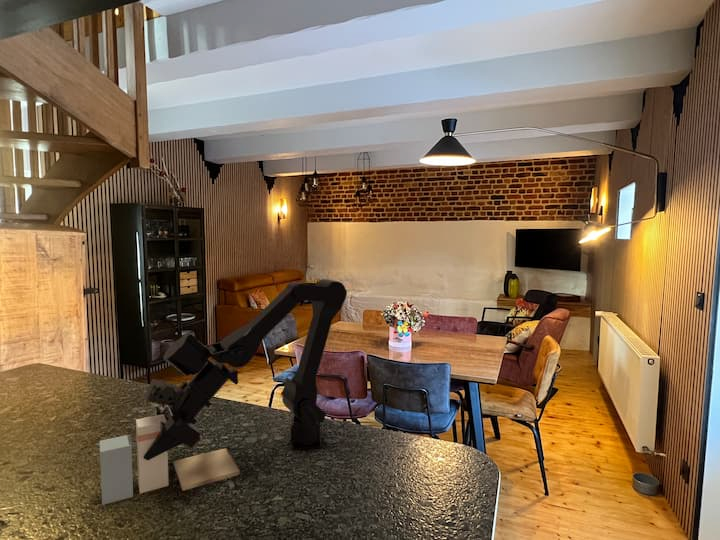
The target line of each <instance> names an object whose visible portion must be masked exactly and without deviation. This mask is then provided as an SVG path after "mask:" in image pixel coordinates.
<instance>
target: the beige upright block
mask: <svg viewBox="0 0 720 540" xmlns="http://www.w3.org/2000/svg"><path fill="white" fill-rule="evenodd" d="M161 421H162V422H163V423H165V424H166V422H167V421H166V418H165V416H164V414H162V415H157V416H156V415H154V416H153V415H152V416H147V417H142V418H138V419H135V432H136V460H137V461H136V462H137V464H136V465H137V466H136V467H137V484H138V485H137V486H138V491H139V494H143V493H147V492H150V491H154V490H157V489H161V488H165V487H168V486H169V461H168V460H169V457H168V451H169V450H168V451H166V452H164V453H162V454H160V455H158V456H156V457H154V458H152V459H150V460H146V459H144V455H145V454H146V452H147V450H148V449H149V448H150V446H151V445H152V443H153V442H154V440H155V439H156V438H157V436H158V435H159V433H160V422H161Z"/></svg>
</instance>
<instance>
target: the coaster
mask: <svg viewBox="0 0 720 540" xmlns="http://www.w3.org/2000/svg"><path fill="white" fill-rule="evenodd" d="M172 462H173V463H172V464H173V467H174V470H175V473H176V475H177V476H176V477H177V479H178V481H179V484H180V488H181V490H182V491H183V492H185V491H186V490H191V489H194V488H197V487H201V486H204V485H208V484H211V483H215V482H218V481H222V480H225V479H230V478H232V477H235V476H239V475H240V473H241V472H240V471H241V470H240V469H239V467H238V466H237V464H236V463H235V461H234V459H233V458H232V456H231V455H230V453H229V452H228V449H227V448H226V447H225V448H221V449H217V450H213V451H209V452H205V453H201V454H198V455H197V454H196V455H193V456H188V457H184V458H180V459H177V460H173V461H172Z"/></svg>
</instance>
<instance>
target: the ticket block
mask: <svg viewBox="0 0 720 540" xmlns="http://www.w3.org/2000/svg"><path fill="white" fill-rule="evenodd" d="M132 450H133V449H132V441H131V436H130V434H125V435H120V436H117V437H111V438H107V439H103V440H101V439H100V440H99V459H100V460H99V462H100V487H101V488H100V489H101V506H105V505H108V504H112V503H115V502H119V501H122V500H127V499H130V498H133V497H134V486H133V484H134V483H133V482H134V481H133V479H134V478H133V451H132Z"/></svg>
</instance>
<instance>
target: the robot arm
mask: <svg viewBox="0 0 720 540" xmlns="http://www.w3.org/2000/svg"><path fill="white" fill-rule="evenodd" d="M347 295H348V293H347V289H346V287H345V285H344V284H343V283H342V282H340V281H337V280H332V279H327V278H326V279H325V278H324V279H320V280H319V281H317V282H297V281H292V282H290V283H288V284H287V286H286V287H285V289H283V290H282V291H281V292H280V293H279V294H278V295H277V296H276V297H275V298H274V299H273V300H272V301H271V302H270V303H268V305H266V306H265V308H264V309H262V310H261V311H260V312H259V313H258V314H257V315H256V316H255V317H254V318H253V319H252V320H251V321H250V322H249V323H247V324H246V325H244V326H242V327H240V328H237V329H235V330H234V331H232V332H231V333H230V334H228V335H226V336H225V337H224V338H223V339H222V340H221V341H219V342H215V343H211V344H208V345H204V344H203V343H202V342H201V341H199V339H197V337H195V336H194V334H193V333H191V332H187V333H185V335H184V336H181V337H180V338H179V339H178V340H176V341H173V343H171V344H170V346H169V347H168V349H166V351H165V353H164V355H163V359H164V361H166V362H167V363H169V364H170V365H171V366H172V367H174V369H176V370H177V371H179V372H181V374H183V375H184V376H190V375H192V376H193V377H192V378H191V379H190V381H187V380H186V381H182V383H181V384H180V385H176V384H173V383H170V382H167V381H162V380H158V379H154V378H153V379H151V380H150V383H149V385H148V387H147V390H146V392H145V394H144V395H145V396H146V401H147V402H149V403H153V404H157V405H158V406H159V405H160V404H161V405H160V406H159V407H158V406H155V408H154V410H155V416H157V415H162V414H164V416H165V418H166V421H167V422H166V424H165V423H163V422H162V421H161V422H160V433H159V435H158V436H157V438H156V439H155V440H154V442H153V443H152V445H151V446H150V448H149V449H148V450H147V452H146V454H145V455H144V459H146V460H150V459H152V458H154V457H156V456H158V455H160V454H162V453H164V452H166V451H169V450H172V449H174V448H176V447H178V446H181V445H183V444H184V445H186V446H187V447H189V448H190V449H194V448H195V447H196V445H198V443H199V442H200V441H201V433H200V431H199V429H198V426H197V425H195V424H196V423H197V422H198V420H197V416H198V415H199V414H200V413H201V412H202V411H203V409H204V408H205V407H206V408H208V409H209V408H210V407H211V406H212V402H211V401H212V399H214V397H215V395H216V394H217V393H218V392H219V391H220V390H221V389H222V388H223V386H224V385H225V384H226V383H227V382H228V380H230V381H231V382H232V383H233V384H234V385H238V384H239V377H238V375H239V370H237V368H243V367H246V366H247V365H248V364H249V363H250V362H251V360H252V359H253V358H254V356H255V355H256V354H257V353H258V352H259V349H260V346H261V345H262V343H263V341H264V339H265V338H266V336H267V335H269V334H270V333H271V332H272V330H273V329H275V328H276V327H277V325H279V324H280V323H281V322H282V321H283V320H284V319H285V318H286V317H287V316H288V315H289V314H290V313H291V312H292V311H293V310H294V309H295V308H296V307H297V306H298V305H299V304H300V303H301V302H302V301H307V302H310V301H311V308H312V317H311V319H310V325H309V327H308V330H307V331H308V332H307V335H306V339H305V341H304V342H305V343H304V345H303V349H302V353H301V357H300V360H299V363H298V367H297V370H296V373H295V374H294V375H293V377H292V378H291V379H290V378H288V377H286V378H285V380H284V386H283V389H282V391H281V393H280V395H281V396H282V403H283V406H285V407H286V409H287V410H288V411H290V413H291V414H292V415H293V420H292V421H291V423H290V443H291V444H292V450H311V449H313V450H315V449H322V440H321V423H324V422H325V418H326V415H327V413H326V412H325V411H324V410H323V409H322V408H320V406H318V405H317V402H318V386H317V377H318V373H319V369H320V366H321V362H322V359H323V355H324V351H325V347H326V344H327V341H328V338H329V333H330V329H331V327H332V322H333V320H334V318H336V316H337V315H338V314H339V313H340V312H341V310H342V307H343V305H344V303H345V302H346V301H345V300H346V298H347ZM209 358H212V360H213V361H216V363H215V362H213V361H212V360H211V359H209ZM226 364H228V365H229V366H230V367H232V368H229V367H228V366H227V365H226Z"/></svg>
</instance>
